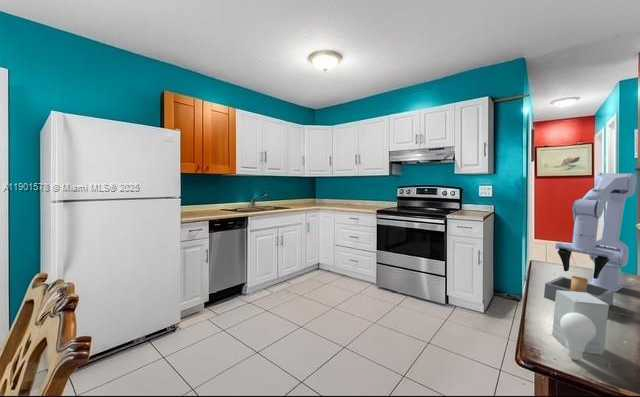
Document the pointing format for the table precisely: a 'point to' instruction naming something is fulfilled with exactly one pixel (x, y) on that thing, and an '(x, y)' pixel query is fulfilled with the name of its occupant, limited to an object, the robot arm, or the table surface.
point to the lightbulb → (577, 333)
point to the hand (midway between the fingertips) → (580, 274)
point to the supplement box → (586, 307)
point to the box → (565, 285)
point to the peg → (579, 284)
